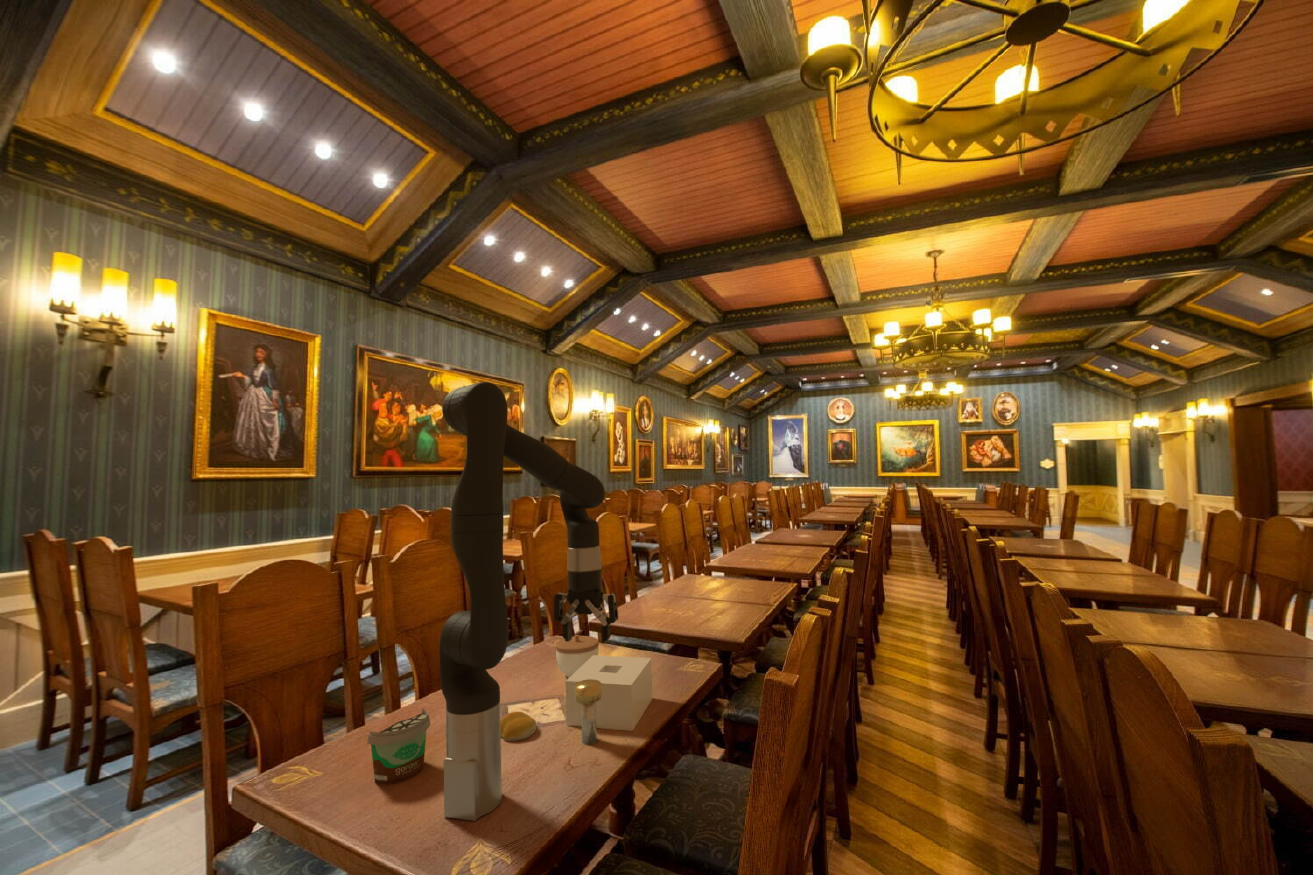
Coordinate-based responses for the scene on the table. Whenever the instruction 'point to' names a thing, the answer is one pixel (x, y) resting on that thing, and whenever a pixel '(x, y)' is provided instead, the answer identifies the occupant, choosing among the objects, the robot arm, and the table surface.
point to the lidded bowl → (575, 653)
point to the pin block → (613, 691)
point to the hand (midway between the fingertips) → (586, 641)
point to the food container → (399, 749)
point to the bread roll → (517, 726)
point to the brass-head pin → (588, 707)
